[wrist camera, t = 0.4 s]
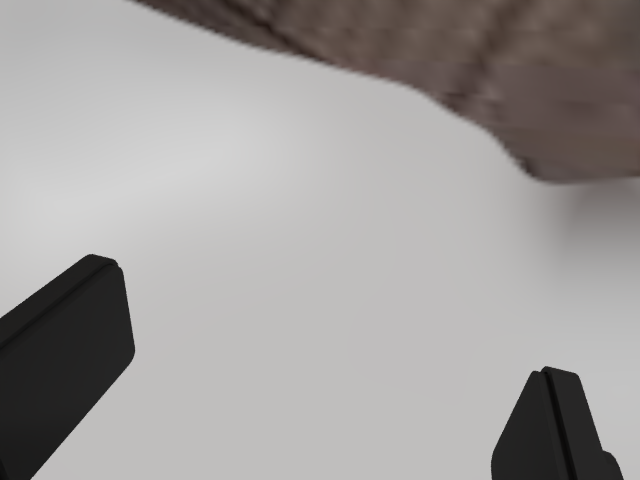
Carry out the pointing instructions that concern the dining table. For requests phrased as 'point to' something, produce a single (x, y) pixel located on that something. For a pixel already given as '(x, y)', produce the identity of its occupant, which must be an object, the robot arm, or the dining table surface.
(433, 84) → the dining table surface
